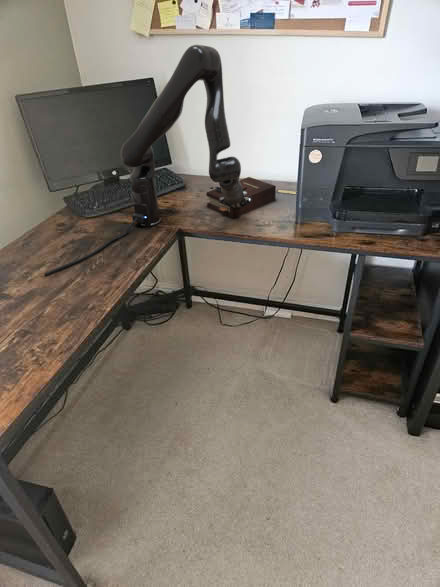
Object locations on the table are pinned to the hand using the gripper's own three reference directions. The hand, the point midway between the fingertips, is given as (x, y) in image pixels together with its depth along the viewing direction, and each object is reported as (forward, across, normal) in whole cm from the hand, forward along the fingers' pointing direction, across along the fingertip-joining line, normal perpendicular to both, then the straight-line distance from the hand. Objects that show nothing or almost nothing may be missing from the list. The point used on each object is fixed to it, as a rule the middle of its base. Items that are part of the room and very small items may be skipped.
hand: (238, 208), depth 163 cm
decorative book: (+13, +1, -7) cm, 15 cm away
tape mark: (+23, -19, -17) cm, 34 cm away
